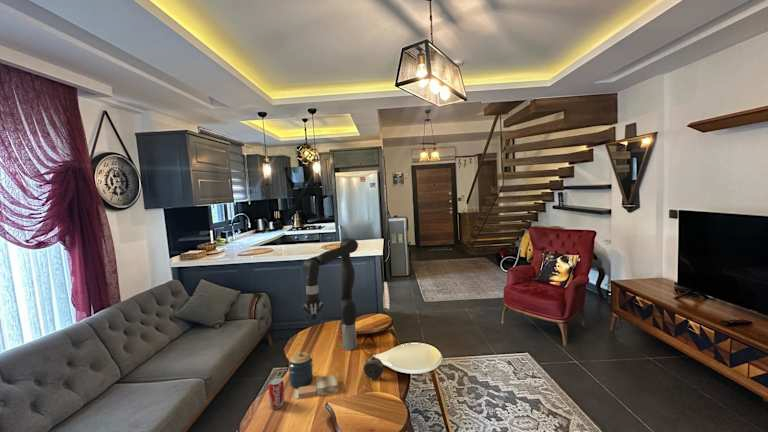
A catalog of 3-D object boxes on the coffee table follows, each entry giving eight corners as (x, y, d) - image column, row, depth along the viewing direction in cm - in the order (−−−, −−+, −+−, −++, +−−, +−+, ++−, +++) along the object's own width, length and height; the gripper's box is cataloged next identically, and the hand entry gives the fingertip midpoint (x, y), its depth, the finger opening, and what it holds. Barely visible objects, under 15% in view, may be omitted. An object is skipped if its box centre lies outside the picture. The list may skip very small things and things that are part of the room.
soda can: (271, 401, 164) (270, 377, 163) (285, 399, 165) (284, 375, 164) (267, 410, 157) (266, 385, 156) (282, 409, 158) (281, 384, 157)
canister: (292, 391, 172) (290, 360, 171) (287, 379, 183) (286, 349, 182) (315, 384, 178) (314, 353, 177) (309, 372, 189) (308, 344, 188)
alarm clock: (384, 377, 182) (383, 350, 181) (382, 383, 177) (381, 355, 176) (365, 375, 185) (364, 348, 183) (363, 381, 179) (362, 353, 178)
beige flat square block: (335, 381, 180) (335, 374, 180) (338, 391, 170) (337, 384, 170) (315, 385, 177) (315, 378, 177) (317, 396, 167) (316, 388, 167)
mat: (315, 386, 176) (315, 385, 176) (317, 394, 168) (317, 394, 168) (295, 390, 173) (295, 389, 173) (295, 399, 165) (295, 398, 165)
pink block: (315, 387, 174) (315, 384, 174) (316, 394, 168) (316, 391, 168) (298, 390, 172) (298, 387, 172) (298, 397, 166) (298, 394, 166)
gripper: (322, 288, 201) (324, 315, 202) (301, 291, 197) (302, 318, 198) (324, 292, 193) (325, 320, 195) (301, 295, 190) (303, 323, 191)
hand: (313, 319), depth 196 cm, fingers closed
